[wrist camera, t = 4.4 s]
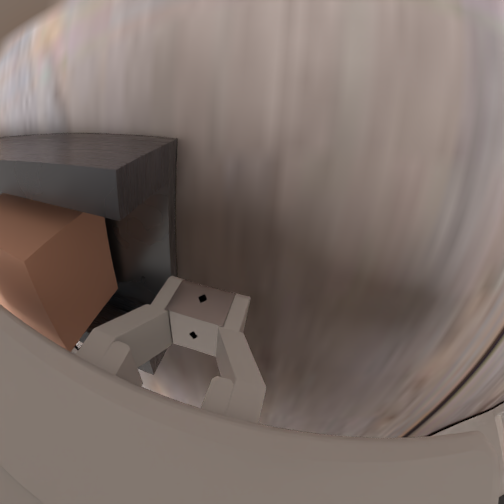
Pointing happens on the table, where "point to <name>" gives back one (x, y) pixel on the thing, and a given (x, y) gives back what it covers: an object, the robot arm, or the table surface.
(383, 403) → the table surface
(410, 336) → the table surface
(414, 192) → the table surface
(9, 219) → the block
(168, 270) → the chute
